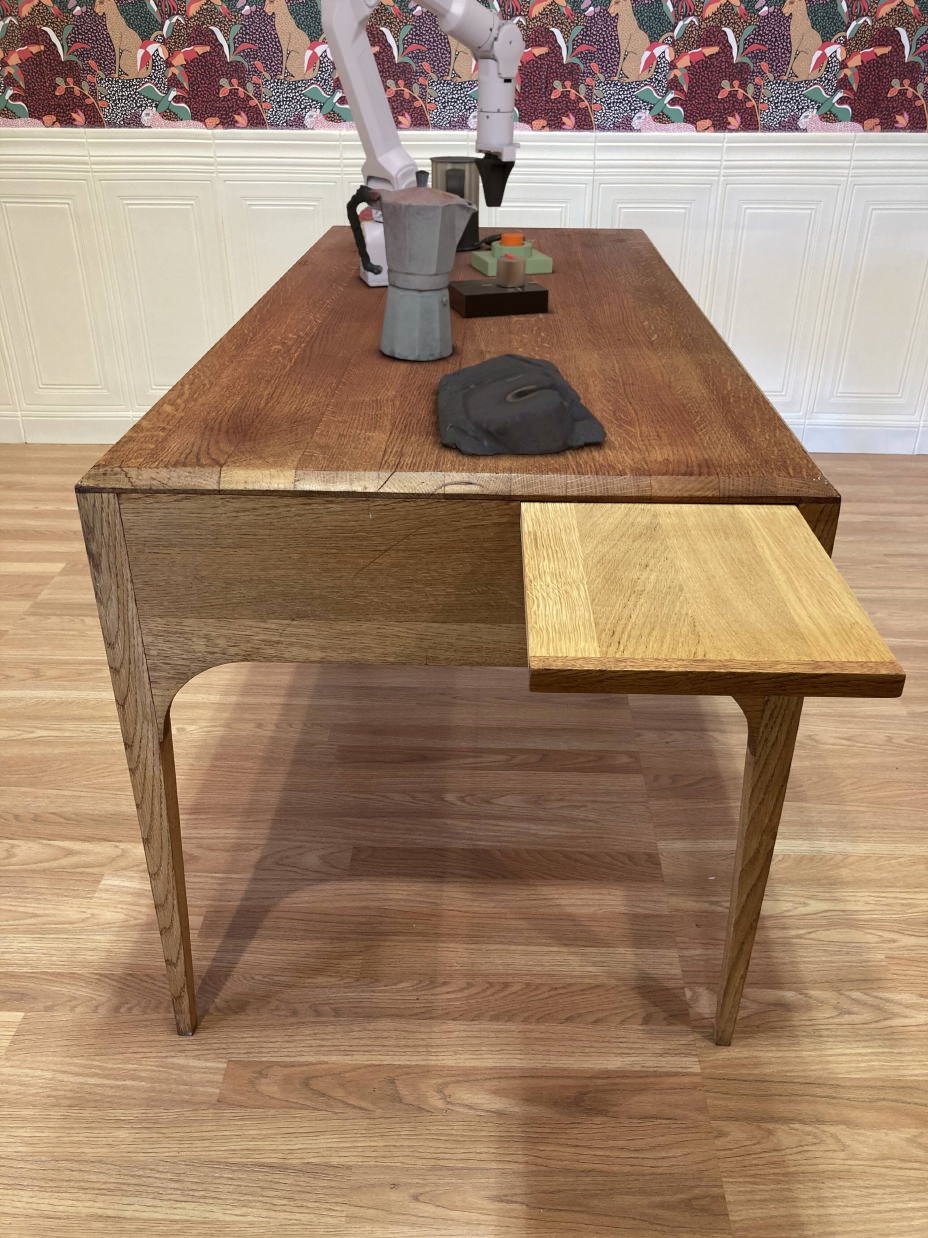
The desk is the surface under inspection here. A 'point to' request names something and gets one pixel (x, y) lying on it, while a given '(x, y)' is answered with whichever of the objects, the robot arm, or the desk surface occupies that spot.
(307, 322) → the desk surface
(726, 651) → the desk surface
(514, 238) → the button
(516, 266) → the temp dial
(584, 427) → the slotted grey rock
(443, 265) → the moka pot
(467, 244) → the milk frother
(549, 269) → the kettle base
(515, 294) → the panel
